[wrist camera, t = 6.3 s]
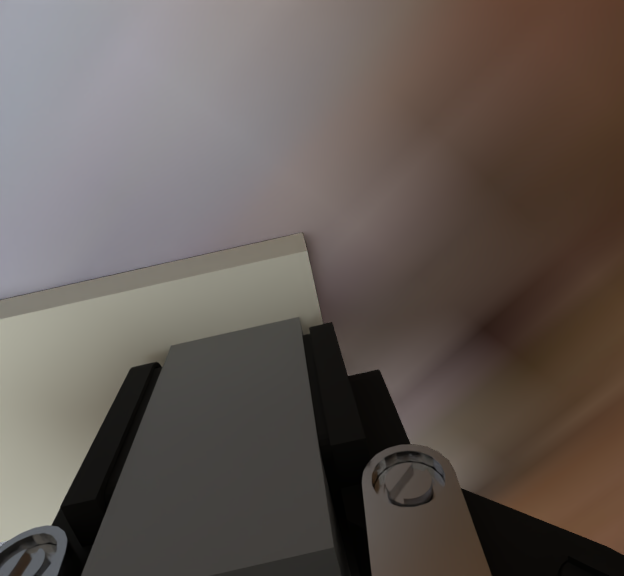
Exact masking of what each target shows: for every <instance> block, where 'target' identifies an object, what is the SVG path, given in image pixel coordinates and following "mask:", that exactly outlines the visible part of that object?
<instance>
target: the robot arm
mask: <svg viewBox="0 0 624 576" xmlns="http://www.w3.org/2000/svg"><path fill="white" fill-rule="evenodd" d="M309 330H310V334H306V335H302V338H303V344H304V351H305V358H306V364H307V371H308V378H309V384H310V391H311V398H312V404H313V411H314V418H315V424H316V431H317V437H318V443H319V448H320V453H321V458H322V462H323V466H324V470H325V474H326V478H327V482H328V486H329V490H330V494H331V498H332V502H333V506H334V510H335V514H336V518H337V522H338V526H339V530H340V534H341V538H342V542H343V546H344V550H345V554H346V558H347V562H348V566H349V570H350V574H351V576H624V555H622V554H620V553H618V552H616V551H614V550H612V549H611V548H609V547H607V546H604V545H602V544H599V543H597V542H594V541H592V540H589V539H587V538H584V537H582V536H579V535H577V534H574V533H572V532H569V531H567V530H564V529H562V528H559V527H557V526H554V525H552V524H549V523H547V522H544V521H542V520H539V519H537V518H534V517H532V516H529V515H527V514H524V513H522V512H519V511H517V510H514V509H512V508H509V507H507V506H504V505H502V504H499V503H497V502H494V501H492V500H489V499H487V498H484V497H482V496H479V495H477V494H474V493H472V492H469V491H467V490H464V489H462V488H461V487H460V485H459V482H458V479H457V476H456V473H455V471H454V469H453V467H452V465H451V464H450V462H449V460H448V459H447V458H445V457H444V456H443V455H442V454H441V453H439V452H438V451H435V450H433V449H431V448H429V447H426V446H421V445H415V444H410V442H409V439H408V437H407V435H406V432H405V430H404V427H403V425H402V423H401V420H400V418H399V415H398V413H397V411H396V408H395V406H394V403H393V401H392V399H391V396H390V394H389V391H388V389H387V387H386V384H385V382H384V379H383V377H382V375H381V372H380V370H374V371H369V372H365V373H361V374H356V375H352V376H348V375H347V372H346V368H345V365H344V361H343V358H342V355H341V351H340V348H339V344H338V341H337V337H336V334H335V331H334V327H333V324H332V322H331V323H326V324H322V325H317V326H313V327H309ZM161 370H162V367H161V365H160V364H159V363H158V362H153V363H148V364H144V365H140V366H135V367H131V369H130V370H129V372H128V374H127V376H126V378H125V380H124V382H123V384H122V386H121V388H120V390H119V392H118V394H117V396H116V398H115V400H114V402H113V403H112V405H111V407H110V409H109V411H108V413H107V415H106V417H105V419H104V421H103V423H102V425H101V427H100V429H99V431H98V433H97V435H96V437H95V439H94V441H93V443H92V445H91V447H90V449H89V451H88V453H87V455H86V457H85V459H84V461H83V463H82V465H81V466H80V468H79V470H78V472H77V474H76V476H75V478H74V480H73V482H72V484H71V486H70V488H69V490H68V492H67V494H66V496H65V498H64V500H63V502H62V504H61V506H60V509H59V511H58V513H57V515H56V517H55V519H54V521H53V523H52V525H51V526H49V525H46V526H41V527H35V528H33V529H30V530H28V531H25V532H23V533H20V534H19V535H17V536H15V537H14V538H12V539H10V540H9V541H7V542H5V543H4V544H3V545H2V546H0V576H81V575H82V572H83V569H84V567H85V564H86V562H87V559H88V557H89V554H90V552H91V549H92V546H93V544H94V541H95V539H96V536H97V534H98V531H99V528H100V526H101V523H102V521H103V518H104V516H105V513H106V511H107V508H108V505H109V503H110V500H111V498H112V495H113V493H114V490H115V487H116V485H117V482H118V480H119V477H120V475H121V472H122V470H123V467H124V464H125V462H126V459H127V457H128V454H129V452H130V449H131V446H132V444H133V441H134V439H135V436H136V434H137V431H138V429H139V426H140V423H141V421H142V418H143V416H144V413H145V411H146V408H147V406H148V403H149V400H150V398H151V395H152V393H153V390H154V388H155V385H156V382H157V380H158V377H159V375H160V372H161Z"/></svg>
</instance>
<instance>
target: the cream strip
mask: <svg viewBox="0 0 624 576" xmlns="http://www.w3.org/2000/svg"><path fill="white" fill-rule="evenodd" d="M322 324H323V321H322V316H321V311H320V307H319V302H318V298H317V293H316V289H315V284H314V279H313V275H312V270H311V266H310V261H309V257H308V252H307V248H306V244H305V241H304V237H303V233H299V234H294V235H290V236H285V237H281V238H276V239H272V240H267V241H263V242H258V243H254V244H249V245H245V246H240V247H236V248H231V249H227V250H223V251H218V252H214V253H209V254H205V255H200V256H196V257H191V258H187V259H182V260H178V261H173V262H169V263H164V264H160V265H155V266H151V267H146V268H142V269H138V270H133V271H129V272H124V273H120V274H115V275H111V276H106V277H102V278H97V279H93V280H88V281H84V282H79V283H75V284H70V285H66V286H62V287H57V288H53V289H48V290H44V291H39V292H35V293H30V294H26V295H21V296H17V297H12V298H8V299H3V300H0V542H4V541H9V540H10V539H12V538H14V537H15V536H17V535H19V534H20V533H23V532H25V531H28V530H30V529H33V528H35V527H41V526H46V525H49V526H51V525H52V523H53V521H54V519H55V517H56V515H57V513H58V511H59V509H60V506H61V504H62V502H63V500H64V498H65V496H66V494H67V492H68V490H69V488H70V486H71V484H72V482H73V480H74V478H75V476H76V474H77V472H78V470H79V468H80V466H81V465H82V463H83V461H84V459H85V457H86V455H87V453H88V451H89V449H90V447H91V445H92V443H93V441H94V439H95V437H96V435H97V433H98V431H99V429H100V427H101V425H102V423H103V421H104V419H105V417H106V415H107V413H108V411H109V409H110V407H111V405H112V403H113V402H114V400H115V398H116V396H117V394H118V392H119V390H120V388H121V386H122V384H123V382H124V380H125V378H126V376H127V374H128V372H129V370H130V369H131V367H135V366H140V365H144V364H148V363H153V362H158V363H159V364H160V365H161V367H162V370H161V372H160V375H159V377H158V380H157V382H156V385H155V388H154V390H153V393H152V395H151V398H150V400H149V403H148V406H147V408H146V411H145V413H144V416H143V418H142V421H141V423H140V426H139V429H138V431H137V434H136V436H135V439H134V441H133V444H132V446H131V449H130V452H129V454H128V457H127V459H126V462H125V464H124V467H123V470H122V472H121V475H120V477H119V480H118V482H117V485H116V487H115V490H114V493H113V495H112V498H111V500H110V503H109V505H108V508H107V511H106V513H105V516H104V518H103V521H102V523H101V526H100V528H99V531H98V534H97V536H96V539H95V541H94V544H93V546H92V549H91V552H90V554H89V557H88V559H87V562H86V564H85V567H84V569H83V572H82V575H81V576H351V574H350V570H349V566H348V562H347V558H346V554H345V550H344V546H343V542H342V538H341V534H340V530H339V526H338V522H337V518H336V514H335V510H334V506H333V502H332V498H331V494H330V490H329V486H328V482H327V478H326V474H325V470H324V466H323V462H322V458H321V453H320V448H319V443H318V437H317V431H316V424H315V418H314V411H313V404H312V398H311V391H310V384H309V378H308V371H307V364H306V358H305V351H304V344H303V338H302V335H306V334H310V330H309V327H313V326H317V325H322Z"/></svg>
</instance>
